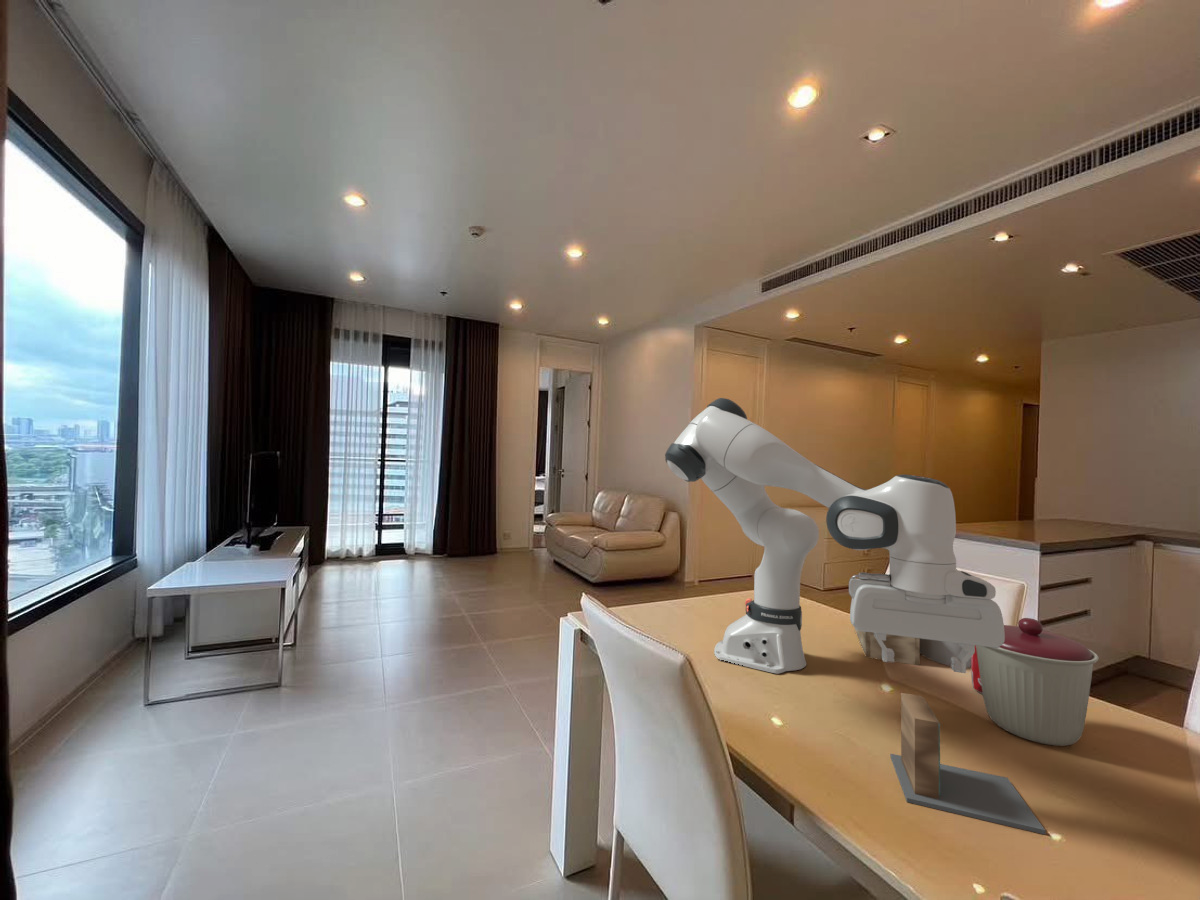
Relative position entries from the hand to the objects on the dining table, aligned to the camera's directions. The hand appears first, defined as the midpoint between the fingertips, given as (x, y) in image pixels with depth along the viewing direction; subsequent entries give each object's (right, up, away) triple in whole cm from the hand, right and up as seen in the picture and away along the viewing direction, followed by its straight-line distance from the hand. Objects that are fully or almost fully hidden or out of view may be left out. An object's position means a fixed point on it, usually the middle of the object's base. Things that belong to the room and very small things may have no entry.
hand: (922, 666), depth 76 cm
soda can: (+36, -20, +31) cm, 52 cm away
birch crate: (+29, -21, +58) cm, 68 cm away
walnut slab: (-1, -17, -1) cm, 17 cm away
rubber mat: (+4, -18, -3) cm, 18 cm away
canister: (+31, -20, +16) cm, 40 cm away
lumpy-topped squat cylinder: (+41, -21, +52) cm, 69 cm away
